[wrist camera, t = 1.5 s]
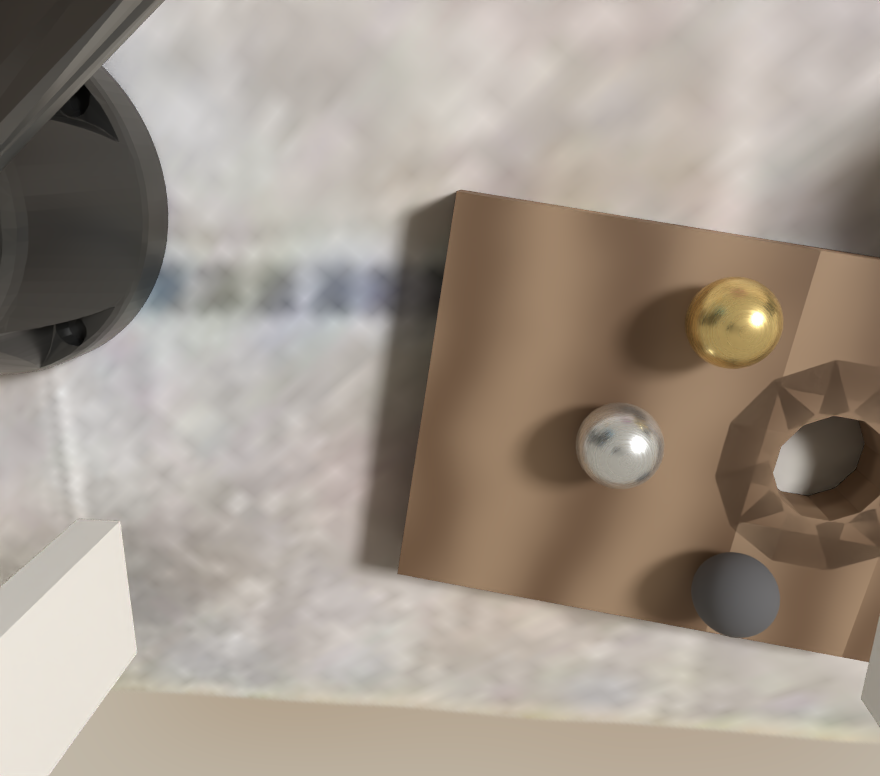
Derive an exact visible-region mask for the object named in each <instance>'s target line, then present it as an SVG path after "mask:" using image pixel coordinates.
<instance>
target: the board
mask: <svg viewBox="0 0 880 776" xmlns="http://www.w3.org/2000/svg"><path fill="white" fill-rule="evenodd" d="M727 277H745V278H749V279H753V280H755V281H758V282H759V283H761V284H763V285H764V286H766V287H767V288H768V289H769V290H770V291H771V292H772V293H773V294H774V295H775V296H776V298H777V300H778V301H779V303H780V306H781V308H782V312H783V321H784V322H783V331H782V335H781V337H780V340H779V342H778V344H777V345H776V347H775V348H774V350H773V351H772V352H771V353H770V354H769V355H768V356H767V357H766V358H764V359H763V360H761V361H760V362H758V363H756V364H754V365H751V366H748V367H744V368H739V369H726V368H721V367H717V366H714V365H711V364H710V363H708V362H706V361H704V360H703V359H702V358H700V357H699V356H698V355H697V354H696V353H695V351H694V350H693V349H692V347H691V346H690V344H689V342H688V339H687V337H686V332H685V316H686V312H687V309H688V307H689V304H690V302H691V301H692V299H693V298H694V297H695V295H696V294H697V293H698V292H699V291H700V290H701V289H702V288H704V287H705V286H706V285H708V284H710V283H712V282H714V281H716V280H719V279H722V278H727ZM610 403H628V404H633V405H635V406H638V407H640V408H641V409H643V410H645V411H646V412H648V413H649V414H650V415H651V416H652V417H653V418H654V419H655V421H656V422H657V423H658V425H659V427H660V429H661V431H662V434H663V438H664V455H663V459H662V462H661V464H660V466H659V468H658V470H657V471H656V473H655V474H654V475H653V476H652V477H651V478H650V479H649V480H647V481H646V482H644V483H643V484H641V485H639V486H636V487H633V488H629V489H613V488H608V487H606V486H603V485H601V484H599V483H597V482H595V481H594V480H593V479H591V478H590V477H589V476H588V475H587V474H586V472H585V471H584V470H583V468H582V467H581V465H580V463H579V461H578V458H577V454H576V436H577V433H578V430H579V427H580V425H581V424H582V422H583V420H584V419H585V418H586V417H587V416H588V415H589V414H590V413H591V412H592V411H594V410H595V409H597V408H599V407H601V406H603V405H606V404H610ZM832 416H838V417H844V418H850V419H856V420H859V424H860V428H861V431H862V435H863V439H864V443H865V445H864V448H863V451H862V454H861V456H860V459H859V462H858V465H857V468H856V470H855V471H853V472H852V473H851V474H850V475H849V476H848V477H847V478H846V479H845V480H843V481H842V482H841V483H840V484H839V485H838V486H837V487H836V488H834V489H830V490H827V491H823V492H820V493H816V494H813V495H809V496H805V495H799V494H794V493H788V492H782V491H780V490H779V489H777V486H776V482H775V479H774V475H773V471H774V468H775V465H776V461H777V458H778V455H779V452H780V449H781V446H782V445H783V444H784V443H785V442H786V441H787V440H788V439H789V438H791V437H792V436H793V435H794V434H795V433H796V432H797V431H798V430H799V429H800V428H801V427H802V426H803V425H806V424H809V423H812V422H816V421H819V420H822V419H825V418H829V417H832ZM725 552H736V553H742V554H746V555H749V556H751V557H753V558H755V559H757V560H758V561H760V562H761V563H762V564H764V565H765V566H766V567H767V568H768V570H769V571H770V572H771V573H772V575H773V576H774V578H775V580H776V582H777V585H778V588H779V593H780V606H779V610H778V613H777V616H776V618H775V619H774V621H773V622H772V623H771V625H770V626H769V627H768V628H767V629H765V630H764V631H763V632H761V633H759V634H757V635H754V636H751V637H746V638H743V639H748V640H753V641H759V642H764V643H769V644H775V645H780V646H785V647H791V648H796V649H801V650H807V651H812V652H818V653H823V654H828V655H834V656H839V657H844V658H850V659H855V660H860V661H866V662H869V660H870V656H871V651H872V647H873V643H874V638H875V634H876V629H877V625H878V621H879V616H880V258H879V257H872V256H866V255H860V254H854V253H848V252H842V251H835V250H829V249H823V248H817V247H811V246H805V245H798V244H792V243H786V242H780V241H774V240H768V239H761V238H755V237H749V236H743V235H737V234H731V233H724V232H718V231H712V230H706V229H700V228H694V227H688V226H681V225H675V224H669V223H663V222H657V221H651V220H644V219H638V218H632V217H626V216H620V215H614V214H607V213H601V212H595V211H589V210H583V209H577V208H570V207H564V206H558V205H552V204H546V203H540V202H533V201H527V200H521V199H515V198H509V197H503V196H496V195H490V194H484V193H478V192H472V191H466V190H459V191H457V192H456V198H455V204H454V211H453V217H452V224H451V230H450V237H449V243H448V250H447V256H446V263H445V269H444V276H443V282H442V289H441V295H440V302H439V308H438V314H437V321H436V327H435V334H434V340H433V347H432V353H431V360H430V366H429V373H428V379H427V386H426V392H425V399H424V405H423V412H422V418H421V424H420V431H419V437H418V444H417V450H416V457H415V463H414V470H413V476H412V483H411V489H410V496H409V502H408V509H407V515H406V522H405V528H404V534H403V541H402V547H401V554H400V560H399V567H398V573H397V574H401V575H407V576H412V577H417V578H423V579H428V580H433V581H439V582H444V583H449V584H455V585H460V586H465V587H471V588H476V589H481V590H487V591H492V592H497V593H503V594H508V595H513V596H519V597H524V598H529V599H535V600H540V601H545V602H551V603H556V604H561V605H567V606H572V607H577V608H583V609H588V610H593V611H599V612H604V613H609V614H615V615H620V616H625V617H631V618H636V619H641V620H647V621H652V622H657V623H663V624H668V625H673V626H679V627H684V628H689V629H695V630H700V631H705V632H711V633H716V634H720V633H718V632H716V631H714V630H713V629H712V628H710V627H709V626H708V625H707V624H706V623H705V622H704V621H703V620H702V619H701V618H700V616H699V615H698V613H697V611H696V610H695V607H694V605H693V601H692V596H691V585H692V581H693V577H694V575H695V573H696V571H697V569H698V568H699V567H700V565H701V564H702V563H703V562H705V561H706V560H707V559H709V558H710V557H712V556H714V555H717V554H720V553H725ZM721 635H723V634H721Z"/></svg>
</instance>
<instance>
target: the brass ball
mask: <svg viewBox="0 0 880 776" xmlns="http://www.w3.org/2000/svg"><path fill="white" fill-rule="evenodd" d="M783 322H784V321H783V312H782V308H781V306H780V303H779V301H778V300H777V298H776V296H775V295H774V294H773V293H772V292H771V291H770V290H769V289H768V288H767V287H766V286H764V285H763V284H761V283H759V282H758V281H755V280H753V279H749V278H745V277H727V278H722V279H719V280H716V281H714V282H712V283H710V284H708V285H706V286H705V287H704V288H702V289H701V290H700V291H699V292H698V293H697V294H696V295H695V297H694V298H693V299H692V301H691V302H690V304H689V307H688V309H687V312H686V316H685V332H686V337H687V339H688V342H689V344H690V346H691V347H692V349H693V350H694V351H695V353H696V354H697V355H698V356H699V357H700V358H702V359H703V360H704V361H706V362H708V363H710V364H711V365H714V366H717V367H721V368H726V369H739V368H744V367H748V366H751V365H754V364H756V363H758V362H760V361H761V360H763V359H764V358H766V357H767V356H768V355H769V354H770V353H771V352H772V351H773V350H774V348H775V347H776V345H777V344H778V342H779V340H780V337H781V335H782V331H783Z"/></svg>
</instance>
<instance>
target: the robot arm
mask: <svg viewBox="0 0 880 776" xmlns="http://www.w3.org/2000/svg"><path fill="white" fill-rule="evenodd" d="M164 1H165V0H0V374H19V373H26V372H32V371H38V370H43V369H46V368H50V367H53V366H56V365H59V364H62V363H64V362H67V361H69V360H71V359H74V358H76V357H78V356H81V355H83V354H85V353H87V352H90V351H92V350H94V349H96V348H98V347H100V346H101V345H103V344H105V343H106V342H108V341H109V340H111V339H112V338H113V337H115V336H116V335H117V334H118V333H120V332H121V331H122V330H123V329H124V328H125V327H126V326H127V325H128V324H129V323H130V322H131V321H132V320H133V318H134V317H135V316H136V315H137V314H138V312H139V311H140V309H141V308H142V307H143V305H144V304H145V302H146V300H147V299H148V297H149V295H150V293H151V291H152V289H153V287H154V285H155V283H156V280H157V278H158V275H159V272H160V269H161V266H162V262H163V258H164V254H165V248H166V242H167V232H168V204H167V194H166V186H165V181H164V176H163V172H162V168H161V164H160V161H159V158H158V155H157V152H156V149H155V146H154V144H153V141H152V139H151V136H150V134H149V132H148V130H147V128H146V126H145V124H144V122H143V120H142V118H141V116H140V115H139V113H138V111H137V109H136V108H135V106H134V105H133V103H132V102H131V100H130V99H129V97H128V96H127V94H126V93H125V92H124V90H123V89H122V88H121V87H120V85H119V84H118V83H117V82H116V80H115V79H114V78H113V77H112V76H111V75H110V74H109V73H108V72H107V71H106V70H105V69H104V68H103V67H102V65H103V64H104V63H105V62H106V61H107V60H108V59H109V58H110V57H111V55H112V54H113V53H114V52H115V51H116V50H117V49H118V48H119V47H120V46H121V45H122V44H123V43H124V42H125V41H126V40H127V39H128V38H129V37H130V36H131V35H132V34H133V33H134V32H135V31H136V30H137V29H138V28H139V26H140V25H141V24H142V23H143V22H144V21H145V20H146V19H147V18H148V17H149V16H150V15H151V14H152V13H153V12H154V11H155V10H156V9H157V8H158V7H159V6H160V5H161V4H162V3H163V2H164ZM136 654H137V647H136V639H135V631H134V624H133V616H132V608H131V601H130V593H129V585H128V577H127V570H126V562H125V554H124V547H123V539H122V531H121V524H120V521H112V520H92V519H78V520H76V521H75V522H74V523H73V524H72V525H71V526H70V527H68V528H67V529H66V530H65V531H64V532H63V533H61V534H60V535H59V536H58V537H57V538H56V539H55V540H53V541H52V542H51V543H50V544H49V545H48V546H47V547H45V548H44V549H43V550H42V551H41V552H40V553H39V554H37V555H36V556H35V557H34V558H33V559H32V560H31V561H29V562H28V563H27V564H26V565H25V566H24V567H23V568H21V569H20V570H19V571H18V572H17V573H16V574H14V575H13V576H12V577H11V578H10V579H9V580H8V581H6V582H5V583H4V584H3V585H2V586H1V587H0V776H48V775H49V774H50V773H51V771H52V770H53V769H54V767H55V766H56V764H57V763H58V762H59V760H60V759H61V758H62V756H63V755H64V753H65V752H66V751H67V749H68V748H69V746H70V745H71V744H72V742H73V741H74V740H75V738H76V737H77V735H78V734H79V733H80V731H81V730H82V728H83V727H84V726H85V724H86V723H87V721H88V720H89V719H90V717H91V716H92V714H93V713H94V712H95V710H96V709H97V708H98V706H99V705H100V703H101V702H102V701H103V699H104V698H105V697H106V695H107V694H108V692H109V691H110V690H111V688H112V687H113V686H114V684H115V683H116V681H117V680H118V679H119V677H120V676H121V675H122V673H123V672H124V670H125V669H126V668H127V666H128V665H129V663H130V662H131V661H132V659H133V658H134V657H135V655H136ZM861 700H862V701H863V703H864V704H865V706H866V707H867V709H868V710H869V712H870V713H871V715H872V716H873V718H874V719H875V721H876V722H877V724H878V725H879V727H880V616H879V621H878V625H877V629H876V634H875V638H874V643H873V647H872V651H871V656H870V660H869V665H868V669H867V673H866V678H865V682H864V687H863V691H862V695H861Z"/></svg>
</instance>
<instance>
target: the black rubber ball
mask: <svg viewBox="0 0 880 776" xmlns="http://www.w3.org/2000/svg"><path fill="white" fill-rule="evenodd" d="M691 596H692V601H693V605H694V607H695V610H696V611H697V613H698V615H699V616H700V618H701V619H702V620H703V621H704V622H705V623H706V624H707V625H708V626H709V627H710V628H712V629H713V630H714V631H716V632H718V633H720V634H723V635H725V636H729V637H735V638H746V637H751V636H754V635H757V634H759V633H761V632H763V631H764V630H765V629H767V628H768V627H769V626H770V625H771V623H772V622H773V621H774V619H775V618H776V616H777V613H778V610H779V606H780V593H779V588H778V585H777V582H776V580H775V578H774V576H773V575H772V573H771V572H770V571H769V570H768V568H767V567H766V566H765V565H764V564H762V563H761V562H760V561H758V560H757V559H755V558H753V557H751V556H749V555H746V554H742V553H736V552H725V553H720V554H717V555H714V556H712V557H710V558H709V559H707V560H706V561H705V562H703V563H702V564H701V565H700V567H699V568H698V569H697V571H696V573H695V575H694V577H693V581H692V585H691Z"/></svg>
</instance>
